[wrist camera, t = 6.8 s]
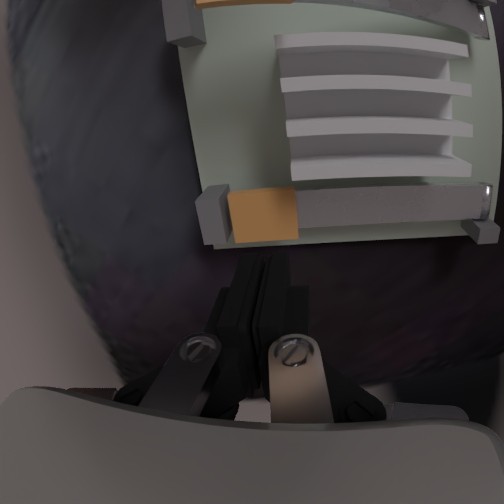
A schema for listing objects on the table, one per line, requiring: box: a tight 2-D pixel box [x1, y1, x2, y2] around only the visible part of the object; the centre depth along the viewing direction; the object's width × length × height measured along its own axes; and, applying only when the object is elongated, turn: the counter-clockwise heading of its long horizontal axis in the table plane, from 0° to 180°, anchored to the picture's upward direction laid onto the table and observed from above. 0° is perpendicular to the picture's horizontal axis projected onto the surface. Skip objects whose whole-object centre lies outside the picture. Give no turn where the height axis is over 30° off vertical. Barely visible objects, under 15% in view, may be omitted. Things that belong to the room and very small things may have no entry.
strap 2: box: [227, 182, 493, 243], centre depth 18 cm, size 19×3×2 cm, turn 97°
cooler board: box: [161, 0, 502, 249], centre depth 15 cm, size 23×20×6 cm
